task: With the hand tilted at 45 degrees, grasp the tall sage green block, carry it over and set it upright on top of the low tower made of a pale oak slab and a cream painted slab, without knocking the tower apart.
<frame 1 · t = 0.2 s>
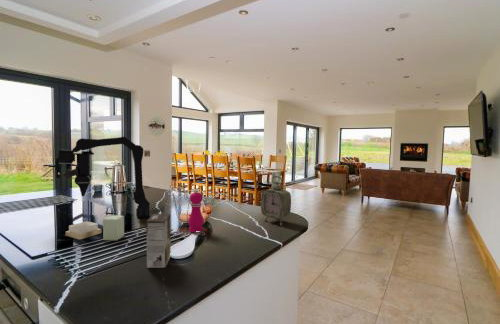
hand: (83, 194, 139), 15 cm above the counter, tool pointing down, fingers open, 9 cm apart
top block: (83, 230, 123), point 2 cm above the counter
coffee box: (159, 262, 97), on the counter
tabletop clock: (276, 222, 148), on the counter
pepper mill: (195, 231, 131), on the counter
sage block: (113, 237, 120), on the counter
bottom block: (83, 235, 124), on the counter
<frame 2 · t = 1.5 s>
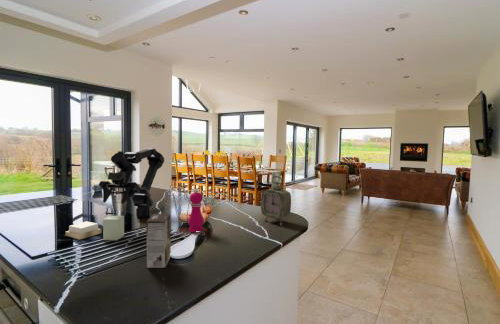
hand: (112, 202, 127), 13 cm above the counter, tool tilted 40°, fingers open, 9 cm apart
top block: (83, 230, 123), point 2 cm above the counter, touching bottom block
bottom block: (83, 235, 124), on the counter, touching top block
everything else where it was.
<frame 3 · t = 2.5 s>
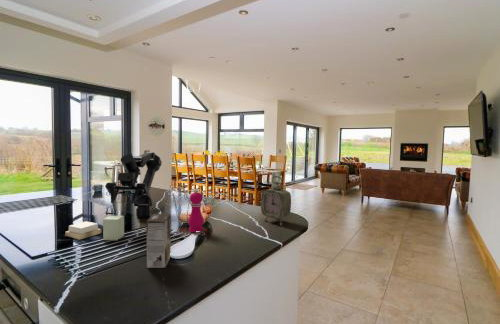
hand: (121, 203, 127), 13 cm above the counter, tool tilted 45°, fingers open, 9 cm apart
top block: (83, 230, 123), point 2 cm above the counter
bottom block: (83, 235, 124), on the counter
everything else where it was.
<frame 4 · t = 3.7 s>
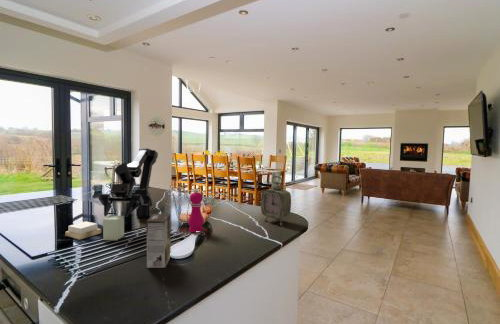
hand: (115, 216, 121), 9 cm above the counter, tool tilted 45°, fingers open, 9 cm apart
top block: (83, 230, 123), point 2 cm above the counter, touching bottom block
bottom block: (83, 235, 124), on the counter, touching top block
everything else where it was.
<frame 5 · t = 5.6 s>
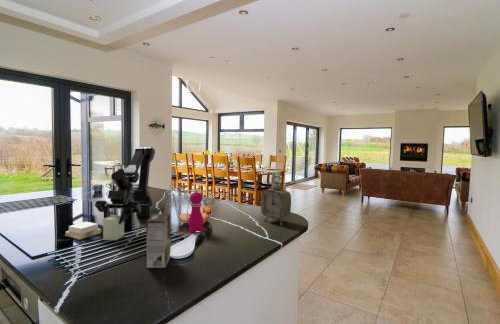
hand: (112, 223, 118), 7 cm above the counter, tool tilted 45°, fingers closed on sage block, 6 cm apart
sage block: (113, 237, 120), on the counter, touching gripper
everything else where it was.
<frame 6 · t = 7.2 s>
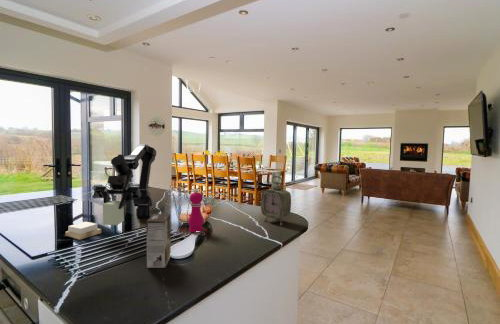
hand: (111, 208, 118), 13 cm above the counter, tool tilted 45°, fingers closed on sage block, 6 cm apart
sage block: (113, 222, 120), point 7 cm above the counter, touching gripper
everything else where it was.
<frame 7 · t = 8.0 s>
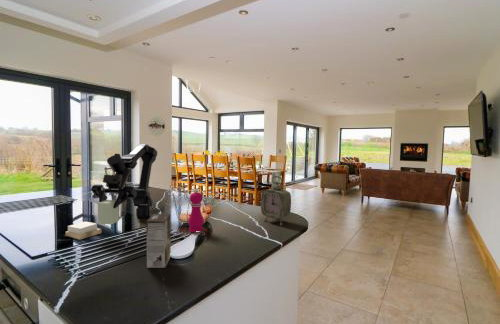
hand: (106, 207, 118), 13 cm above the counter, tool tilted 45°, fingers closed on sage block, 6 cm apart
sage block: (109, 222, 120), point 7 cm above the counter, touching gripper
everything else where it was.
when the fingers open (12 cm above the counter, at t = 11.6 s): sage block drops 2 cm, point 4 cm above the counter.
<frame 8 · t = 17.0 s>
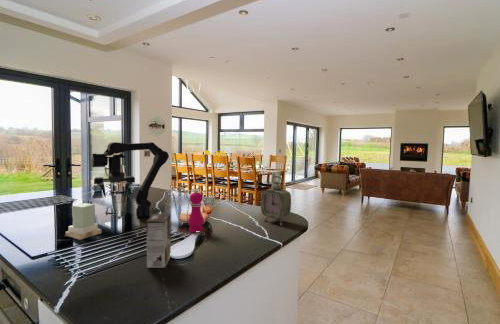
hand: (115, 196, 144), 13 cm above the counter, tool pointing down, fingers open, 9 cm apart
top block: (83, 230, 123), point 2 cm above the counter
sage block: (84, 225, 123), point 4 cm above the counter
bottom block: (83, 235, 123), on the counter
everything else where it was.
at the end: sage block 0.5 cm off-centre on the top block, point 2.5 cm above the top block's base; sage block tilted 0°; top block 0.2 cm from the bottom block (horizontally) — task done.
